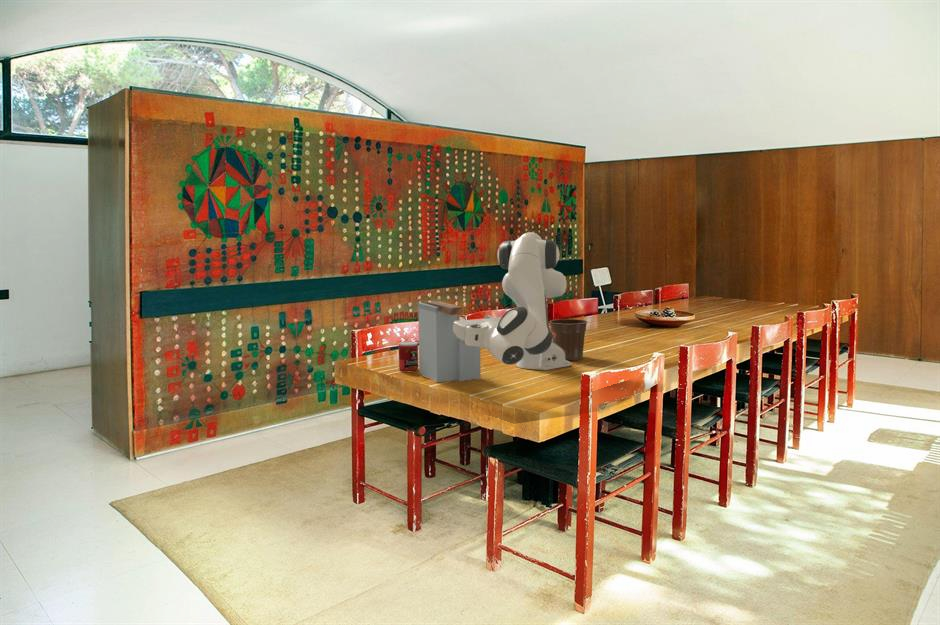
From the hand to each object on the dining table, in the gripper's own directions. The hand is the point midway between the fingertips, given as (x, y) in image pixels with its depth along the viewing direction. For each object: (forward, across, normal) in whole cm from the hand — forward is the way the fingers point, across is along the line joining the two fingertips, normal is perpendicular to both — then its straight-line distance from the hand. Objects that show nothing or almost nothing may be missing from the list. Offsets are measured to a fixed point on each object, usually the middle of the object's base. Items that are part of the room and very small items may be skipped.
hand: (473, 317), depth 244 cm
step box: (+19, -2, +33) cm, 38 cm away
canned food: (+36, +8, +38) cm, 53 cm away
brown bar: (+22, +2, +6) cm, 22 cm away
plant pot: (+29, -63, +36) cm, 78 cm away
